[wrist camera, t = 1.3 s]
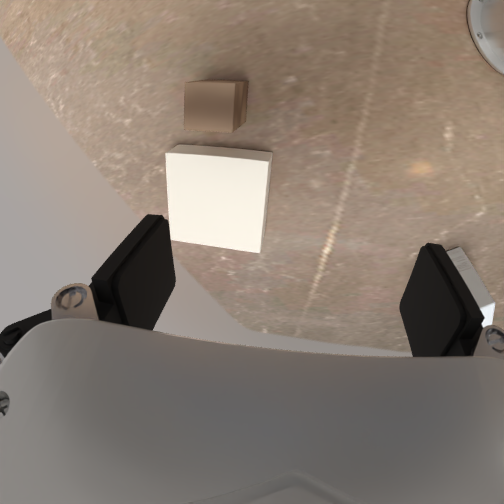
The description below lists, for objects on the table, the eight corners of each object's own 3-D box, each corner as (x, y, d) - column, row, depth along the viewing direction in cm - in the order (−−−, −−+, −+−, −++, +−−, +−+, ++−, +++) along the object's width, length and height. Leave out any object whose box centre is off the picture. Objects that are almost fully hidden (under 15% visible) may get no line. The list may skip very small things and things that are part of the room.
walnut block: (206, 79, 31) (184, 82, 26) (248, 81, 31) (235, 83, 25) (205, 118, 34) (184, 130, 28) (245, 121, 34) (232, 132, 28)
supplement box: (423, 294, 43) (443, 356, 33) (419, 259, 40) (444, 321, 29) (463, 281, 40) (490, 339, 30) (461, 245, 37) (496, 302, 27)
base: (178, 144, 36) (165, 152, 33) (272, 152, 35) (268, 161, 32) (181, 225, 43) (170, 239, 40) (264, 237, 42) (259, 253, 39)
